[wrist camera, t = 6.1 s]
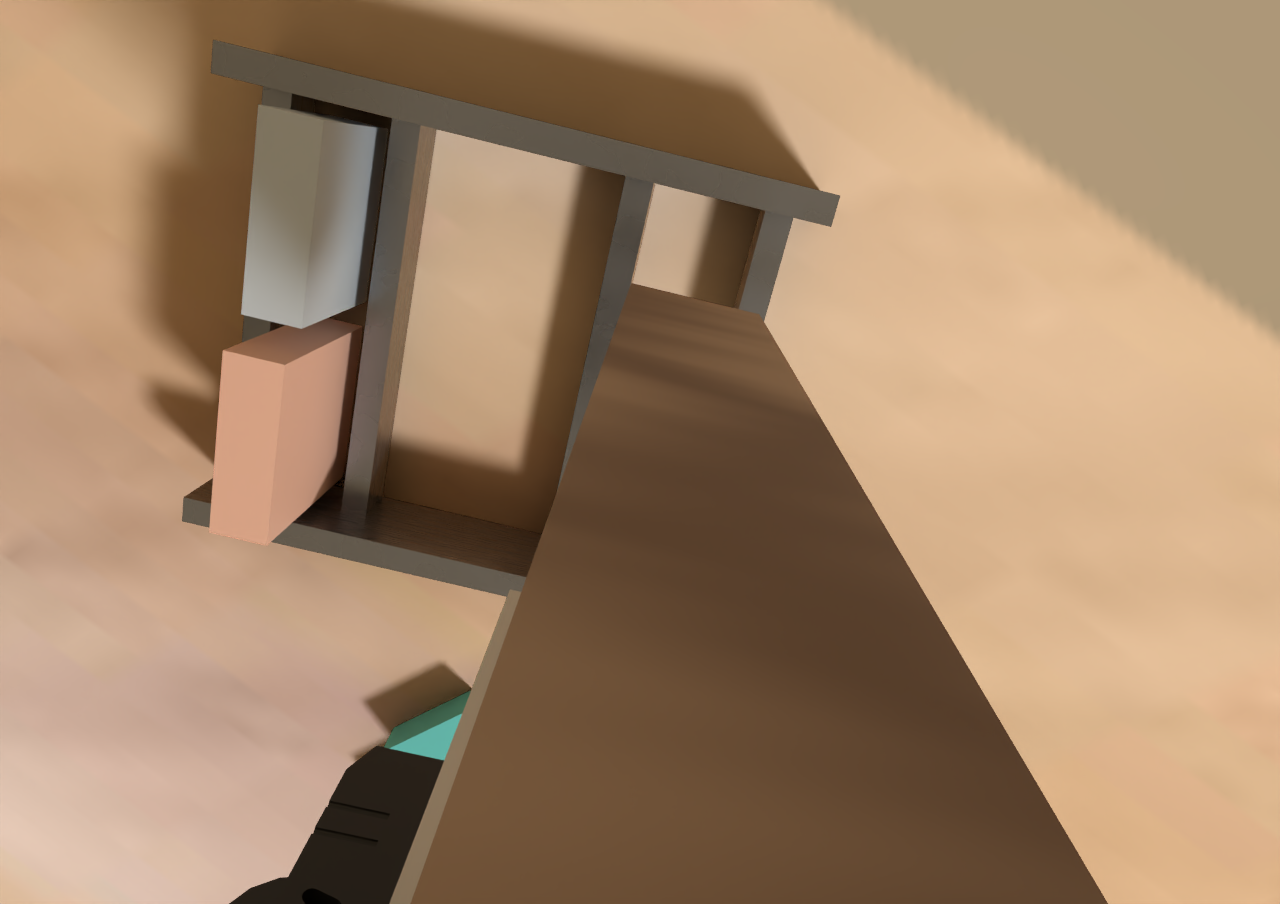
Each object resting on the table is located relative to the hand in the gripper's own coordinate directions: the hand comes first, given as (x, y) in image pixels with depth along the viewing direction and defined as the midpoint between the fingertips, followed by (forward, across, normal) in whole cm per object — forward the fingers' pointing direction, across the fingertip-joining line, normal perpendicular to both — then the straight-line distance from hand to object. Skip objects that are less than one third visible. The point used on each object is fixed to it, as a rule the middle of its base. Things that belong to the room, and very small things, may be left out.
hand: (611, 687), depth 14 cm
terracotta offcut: (+21, -12, -4) cm, 25 cm away
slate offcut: (+21, -12, +4) cm, 25 cm away
